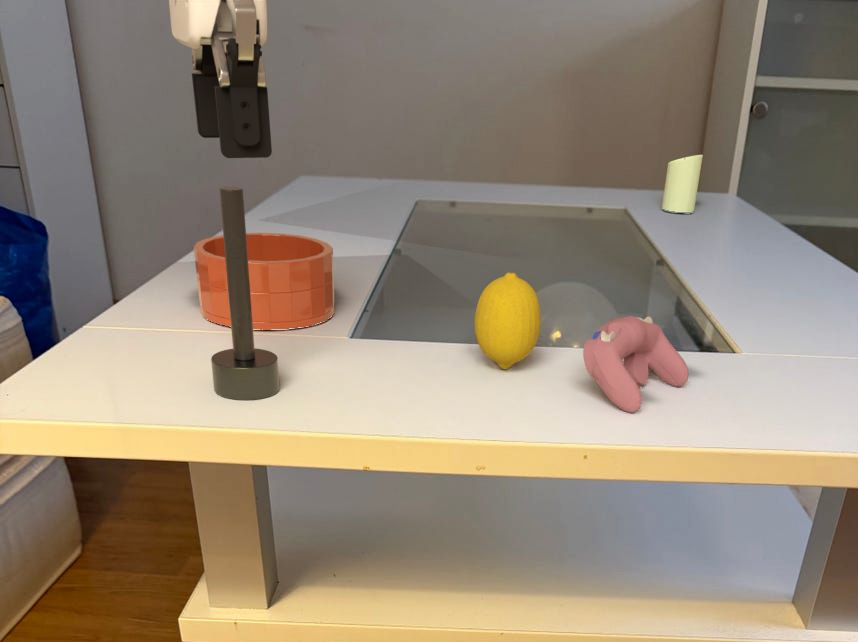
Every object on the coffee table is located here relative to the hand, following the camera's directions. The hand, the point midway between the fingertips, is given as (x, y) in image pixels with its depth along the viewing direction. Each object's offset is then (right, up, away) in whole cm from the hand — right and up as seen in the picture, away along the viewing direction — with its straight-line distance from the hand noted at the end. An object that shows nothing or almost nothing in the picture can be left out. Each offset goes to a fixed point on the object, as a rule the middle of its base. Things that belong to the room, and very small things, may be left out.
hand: (233, 146), depth 68 cm
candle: (+48, +33, +86) cm, 104 cm away
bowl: (-4, -2, +27) cm, 28 cm away
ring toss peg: (-1, -14, +9) cm, 17 cm away
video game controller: (+29, -14, +13) cm, 35 cm away
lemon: (+19, -11, +17) cm, 28 cm away
